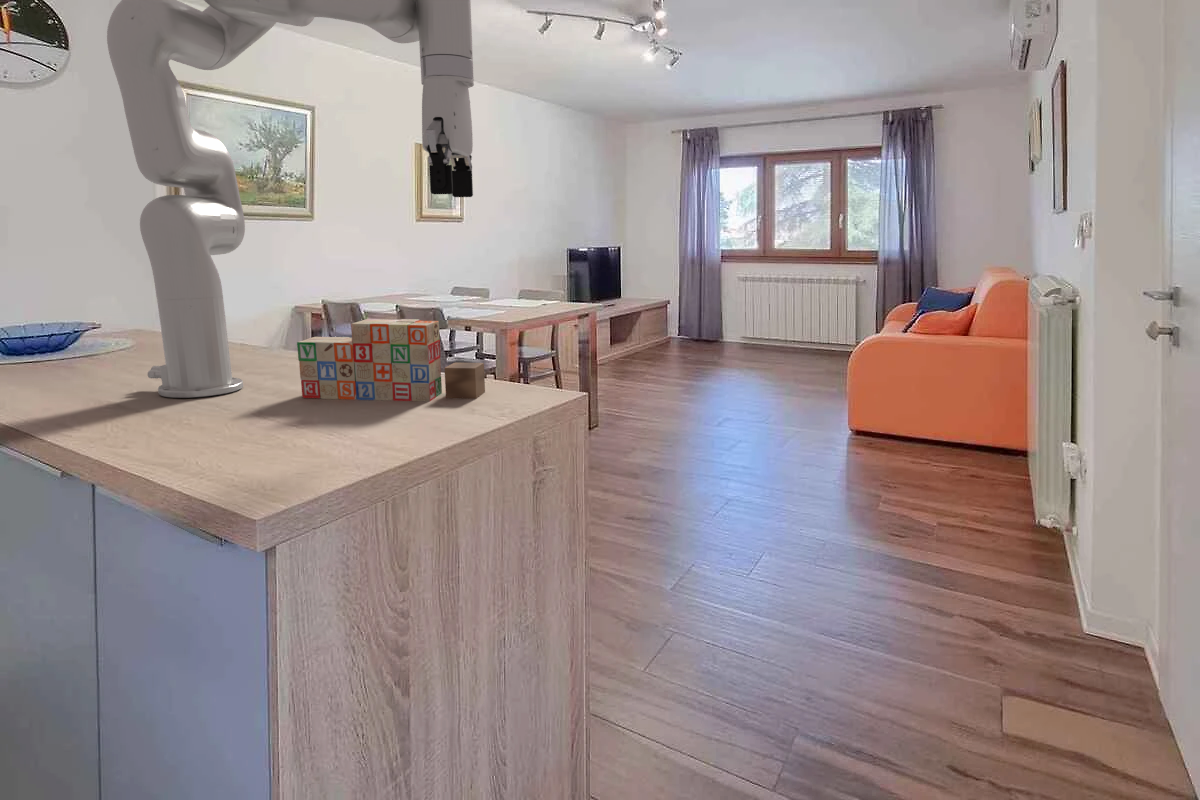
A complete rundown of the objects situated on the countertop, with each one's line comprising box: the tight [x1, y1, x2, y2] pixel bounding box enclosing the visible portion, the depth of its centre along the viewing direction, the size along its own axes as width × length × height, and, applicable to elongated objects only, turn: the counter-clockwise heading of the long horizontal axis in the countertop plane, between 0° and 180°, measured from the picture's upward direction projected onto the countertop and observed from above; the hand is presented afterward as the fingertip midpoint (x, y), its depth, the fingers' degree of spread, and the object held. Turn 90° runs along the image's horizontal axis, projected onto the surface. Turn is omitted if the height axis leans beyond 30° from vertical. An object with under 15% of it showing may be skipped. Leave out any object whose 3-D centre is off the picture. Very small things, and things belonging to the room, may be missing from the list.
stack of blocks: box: [296, 318, 443, 402], centre depth 120 cm, size 21×6×12 cm, turn 84°
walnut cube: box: [444, 362, 486, 400], centre depth 121 cm, size 5×5×5 cm
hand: (452, 195), depth 113 cm, fingers open, 9 cm apart
